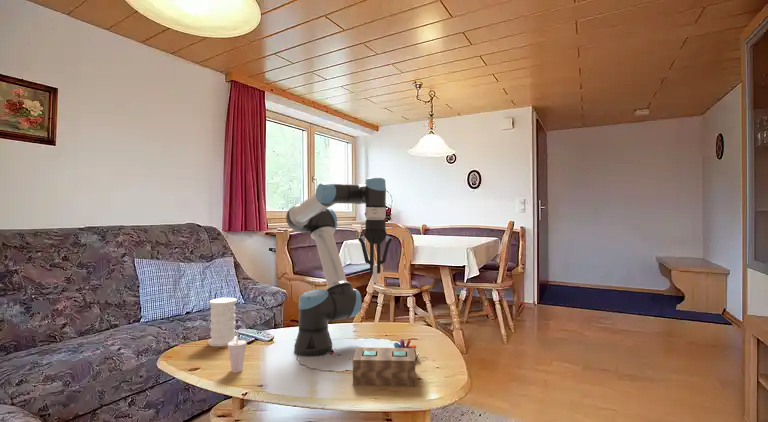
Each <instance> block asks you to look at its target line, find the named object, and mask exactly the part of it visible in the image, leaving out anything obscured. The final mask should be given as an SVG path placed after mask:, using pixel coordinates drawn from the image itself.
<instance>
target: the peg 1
mask: <svg viewBox="0 0 768 422" xmlns="http://www.w3.org/2000/svg"><path fill="white" fill-rule="evenodd" d="M363 356H376V351H364V355H363Z"/></svg>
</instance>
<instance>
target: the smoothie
mask: <svg viewBox="0 0 768 422" xmlns="http://www.w3.org/2000/svg"><path fill="white" fill-rule="evenodd" d="M236 336H237V340H235V341H231V342H229V343H228V345H227V348H228V354H229V361H230V370H231V372H232V373H239V372H240V373H241V372H242V371H243V370H244V361H245V355H246V346H247V345H248V343H247V341H246V340H244V339H239V330H236Z"/></svg>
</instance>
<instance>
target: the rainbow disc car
mask: <svg viewBox="0 0 768 422" xmlns="http://www.w3.org/2000/svg"><path fill="white" fill-rule="evenodd" d="M410 343H411V340H410V339H408V340H407V342H406V343H405V340H404V339H402V338H401V339H400V342H399V343H398V342H394V343H393V346H394V347H393V348H414V353H415V358H416V357H417V356H418V354H417V349H416V348H417V346H416V345H415V344H414V345H413V344H412V345H410Z"/></svg>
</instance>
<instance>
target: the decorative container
mask: <svg viewBox="0 0 768 422" xmlns="http://www.w3.org/2000/svg"><path fill="white" fill-rule="evenodd" d="M236 304H237V298H235V297H219V298H213V299H211V300H209V306H210V307H211V308H210V310H209V311H210V313H211V314H210V317H209V318H210V321H211V322H210V325H209V326H210V334H209V335H210V339H208V346H210V347H226V346H228V343H229V342H231V341H235V340H237V335H236V333H237V330H236V316H237V315H236V310H237V308H236Z"/></svg>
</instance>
